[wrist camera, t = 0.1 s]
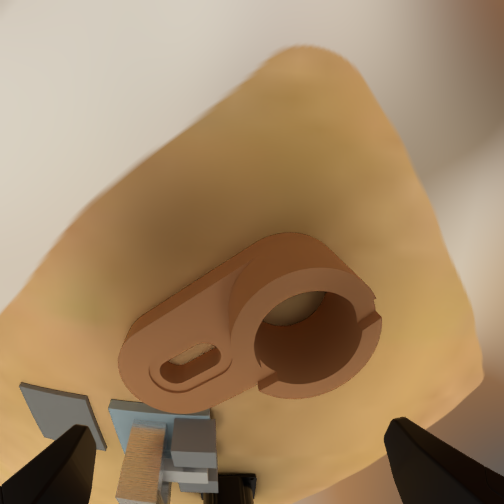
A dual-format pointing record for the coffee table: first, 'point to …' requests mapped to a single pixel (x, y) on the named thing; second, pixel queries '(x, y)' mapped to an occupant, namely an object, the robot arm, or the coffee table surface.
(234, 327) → the bracket
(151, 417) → the vise
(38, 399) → the mat
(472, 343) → the coffee table surface
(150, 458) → the wood-topped grey block
